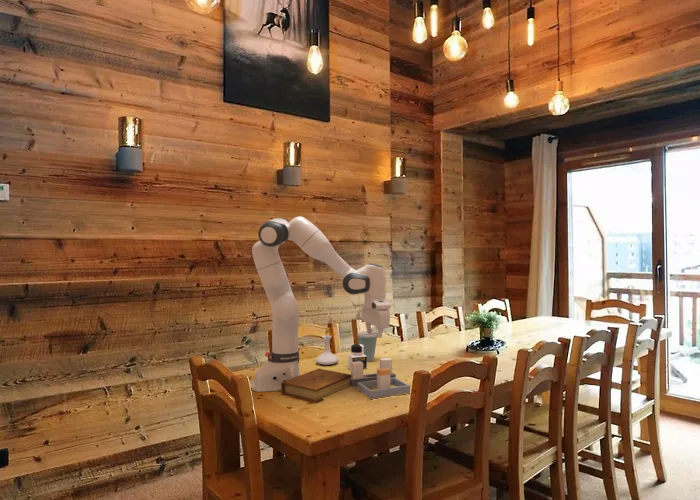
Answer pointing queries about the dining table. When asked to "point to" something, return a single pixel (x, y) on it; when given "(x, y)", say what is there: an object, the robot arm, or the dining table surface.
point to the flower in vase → (327, 349)
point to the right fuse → (386, 364)
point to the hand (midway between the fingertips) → (374, 335)
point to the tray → (383, 392)
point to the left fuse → (357, 370)
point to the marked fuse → (383, 378)
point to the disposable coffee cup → (368, 343)
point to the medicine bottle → (357, 355)
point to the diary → (315, 385)
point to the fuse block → (367, 379)
